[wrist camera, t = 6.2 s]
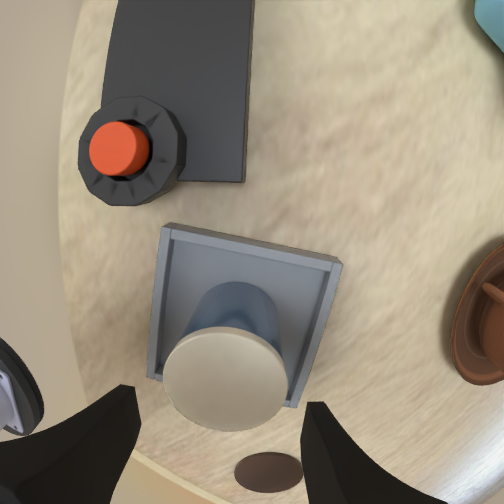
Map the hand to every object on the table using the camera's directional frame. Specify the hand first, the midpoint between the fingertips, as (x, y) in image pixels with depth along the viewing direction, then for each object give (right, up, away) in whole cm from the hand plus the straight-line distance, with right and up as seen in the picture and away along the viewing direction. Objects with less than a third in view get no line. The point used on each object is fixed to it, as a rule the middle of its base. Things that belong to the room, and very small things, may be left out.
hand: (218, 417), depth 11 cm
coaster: (+3, -13, +12) cm, 18 cm away
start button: (-5, +11, +3) cm, 12 cm away
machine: (-3, +19, +5) cm, 20 cm away
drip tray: (0, +2, +9) cm, 9 cm away
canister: (0, +2, +9) cm, 9 cm away
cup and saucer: (+21, +2, +9) cm, 23 cm away
